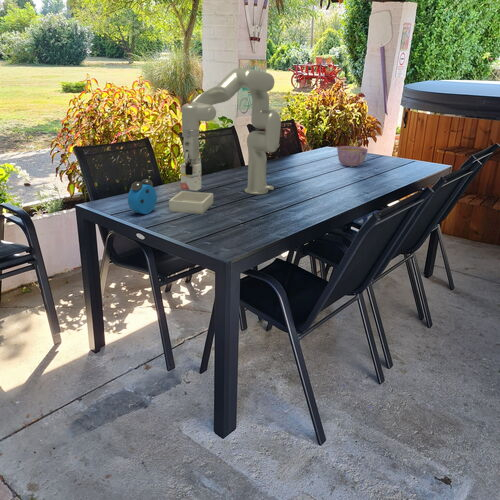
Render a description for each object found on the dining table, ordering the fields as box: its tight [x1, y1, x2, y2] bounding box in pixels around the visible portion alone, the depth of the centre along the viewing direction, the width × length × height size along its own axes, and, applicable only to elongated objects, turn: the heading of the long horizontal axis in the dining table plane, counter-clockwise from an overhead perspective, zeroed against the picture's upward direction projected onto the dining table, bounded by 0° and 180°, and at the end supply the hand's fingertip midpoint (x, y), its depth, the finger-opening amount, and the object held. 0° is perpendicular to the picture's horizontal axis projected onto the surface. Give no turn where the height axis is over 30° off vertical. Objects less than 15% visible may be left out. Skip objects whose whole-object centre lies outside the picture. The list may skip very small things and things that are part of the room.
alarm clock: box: [127, 178, 158, 215], centre depth 222 cm, size 13×6×15 cm, turn 151°
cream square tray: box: [168, 190, 214, 215], centre depth 234 cm, size 16×18×5 cm
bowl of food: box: [336, 145, 369, 167], centre depth 331 cm, size 20×20×12 cm
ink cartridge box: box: [180, 156, 202, 192], centre depth 229 cm, size 9×5×15 cm, turn 71°
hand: (191, 172), depth 229 cm, fingers closed on ink cartridge box, 5 cm apart
